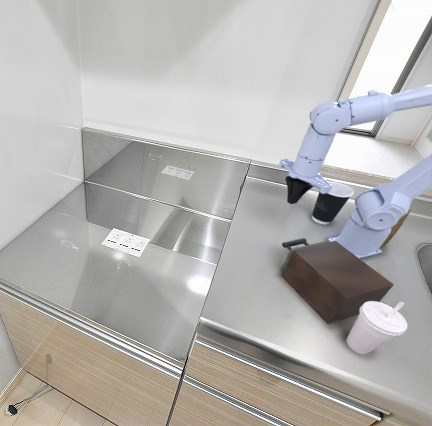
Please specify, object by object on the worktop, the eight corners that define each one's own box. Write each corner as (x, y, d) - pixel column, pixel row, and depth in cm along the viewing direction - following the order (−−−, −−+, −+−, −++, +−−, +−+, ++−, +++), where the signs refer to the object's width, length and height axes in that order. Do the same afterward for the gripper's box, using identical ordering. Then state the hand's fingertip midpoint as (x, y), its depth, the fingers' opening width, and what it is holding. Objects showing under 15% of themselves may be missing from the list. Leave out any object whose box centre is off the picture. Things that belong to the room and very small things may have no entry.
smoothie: (364, 367, 53) (408, 323, 45) (330, 337, 58) (365, 292, 50) (386, 353, 55) (432, 308, 47) (352, 325, 60) (389, 280, 52)
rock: (396, 250, 74) (419, 233, 77) (385, 219, 73) (409, 203, 76) (350, 247, 84) (372, 232, 87) (340, 220, 84) (363, 206, 86)
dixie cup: (338, 217, 89) (355, 186, 82) (334, 231, 84) (352, 199, 77) (308, 208, 93) (323, 178, 86) (303, 221, 88) (318, 190, 81)
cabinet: (281, 275, 71) (293, 250, 66) (320, 265, 73) (335, 240, 68) (327, 324, 60) (346, 298, 55) (372, 310, 63) (394, 284, 58)
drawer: (269, 257, 75) (277, 237, 71) (303, 249, 77) (313, 229, 73) (322, 311, 62) (336, 291, 58) (362, 300, 64) (378, 279, 60)
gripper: (275, 145, 74) (260, 190, 83) (323, 171, 63) (300, 221, 71) (298, 142, 76) (281, 186, 84) (349, 167, 65) (323, 215, 73)
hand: (291, 202), depth 78 cm, fingers closed
